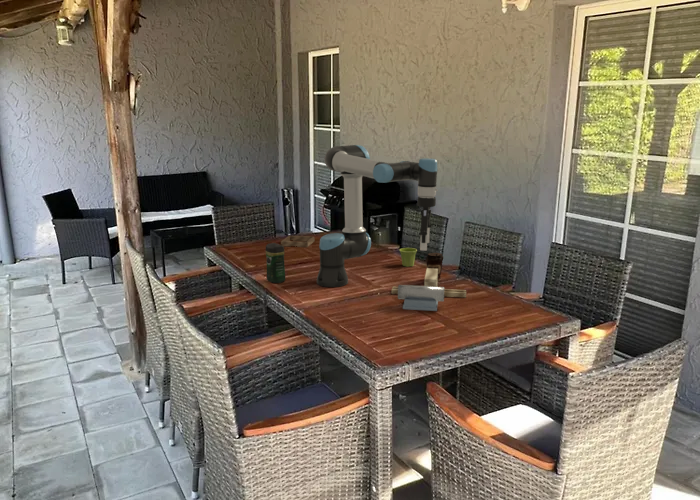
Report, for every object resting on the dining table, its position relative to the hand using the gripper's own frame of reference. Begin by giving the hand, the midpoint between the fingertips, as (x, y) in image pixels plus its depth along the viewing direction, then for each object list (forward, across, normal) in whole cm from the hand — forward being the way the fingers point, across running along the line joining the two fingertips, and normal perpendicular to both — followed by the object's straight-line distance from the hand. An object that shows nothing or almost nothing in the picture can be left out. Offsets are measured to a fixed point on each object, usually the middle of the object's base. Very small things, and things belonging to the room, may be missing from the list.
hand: (424, 246), depth 237 cm
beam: (+24, +10, -3) cm, 27 cm away
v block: (+24, -7, 0) cm, 25 cm away
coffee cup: (+25, +33, -3) cm, 41 cm away
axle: (+18, -7, 0) cm, 20 cm away
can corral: (+27, +98, +86) cm, 134 cm away
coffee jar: (+26, +17, +73) cm, 79 cm away
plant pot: (+26, +58, +12) cm, 64 cm away
